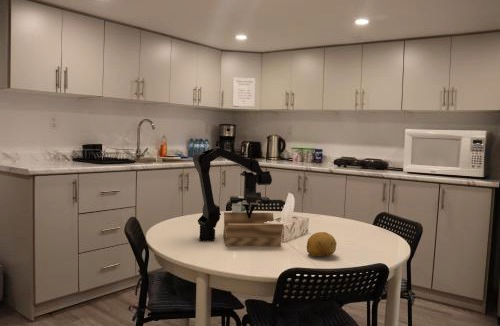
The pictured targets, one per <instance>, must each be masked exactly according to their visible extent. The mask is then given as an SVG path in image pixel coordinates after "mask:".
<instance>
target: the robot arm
mask: <svg viewBox="0 0 500 326" xmlns="http://www.w3.org/2000/svg"><path fill="white" fill-rule="evenodd" d="M219 157H220V158H223V159H225V160H227V161H229V162H232V163H235V164H237V165H239V166H240V168H242V169H244V170H243V171H242V172H241V173H240V174H239V175H240V176H241V177H242V176H243V177H244V180H243V182H244V183H243V197H244V198H239V196H238V195H237V196H236V195H231V196H229V204H231V205H232V204H237V203H238V202H242V203H241V204H242V205H243V206H244V207H245V209H246V212H247V216H248V218H250V217H251V214H252V213H254V212H253V211H254V209H255V207H257V206H259V204H258V203H262V204H263V205H271V199H270V198H269V197H268V196H262V192H260V191H259V192H257V186H270V185H271V184H272V182H273V178H272V175H271V171H269V170H265V171H263V170H262V168H261V166H260V162H259V160H257V159H254V158H249V157H245V156H241V155H239V154H236V153H234V152H232V151H229V150H227V149H225V148H223V147H222V146H214V147H212V148H210V149H207V150H205V151H202V152H196V153H195V154H194V155H193V156H192V162H193V164H194V167H195V170H196V171H197V173H198V176H199V177H198V178H199V182H200V189H201V195H202V199H203V201H202V202H203V206H202V215H200V217H199V218H198V219H197V224H198V225H199V236H198V239H199V242H214V241H215V240H216V227H217V224H218V222H219V221H220V219H221V216H222V214H221V208H220V205H217V204H215V200H214V194H213V190H212V189H213V188H212V183H211V176H210V170H211V163H212V162H214V161H216V159H218V158H219ZM248 171H250V172H248Z"/></svg>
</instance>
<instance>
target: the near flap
mask: <svg viewBox="0 0 500 326" xmlns="http://www.w3.org/2000/svg"><path fill="white" fill-rule="evenodd" d="M283 229H284V223H274V224H228V229H227V238H281V239H282V234H283Z"/></svg>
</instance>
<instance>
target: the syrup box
mask: <svg viewBox="0 0 500 326" xmlns="http://www.w3.org/2000/svg"><path fill="white" fill-rule="evenodd" d="M238 197H239V198H244V196H240V195H239V196H238ZM241 203H242V202H238V203H237V204H231V205H232V207H231V212H235V213H247V212H246V209H245V207H244V206H243V205H242V204H241Z"/></svg>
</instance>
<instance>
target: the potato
mask: <svg viewBox="0 0 500 326" xmlns="http://www.w3.org/2000/svg"><path fill="white" fill-rule="evenodd" d="M336 250H337V241H336V239H335V237H334V236H333V235H332V234H331V233H328V232H323V231H321V232H320V231H319V232H315V233H313V234H311V235H310V236H309V238H308V239H307V243H306V252H307V253H308V254H309V255H310V256H313V257H320V256H321V257H330V256H332V255H333V254H335V252H336Z"/></svg>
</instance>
